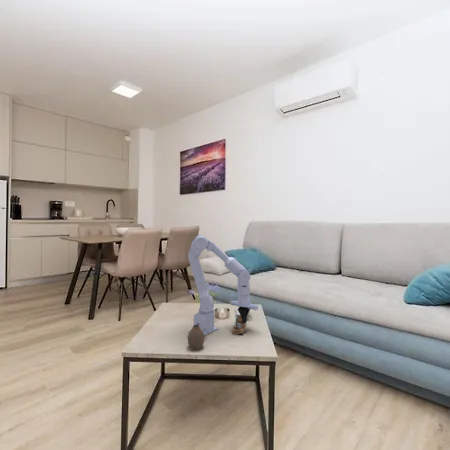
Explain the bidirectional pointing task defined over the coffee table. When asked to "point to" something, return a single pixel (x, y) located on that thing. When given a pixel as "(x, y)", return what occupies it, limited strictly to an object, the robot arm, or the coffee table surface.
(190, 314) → the coffee table surface
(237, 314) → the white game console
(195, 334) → the vase
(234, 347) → the coffee table surface
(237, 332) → the link
